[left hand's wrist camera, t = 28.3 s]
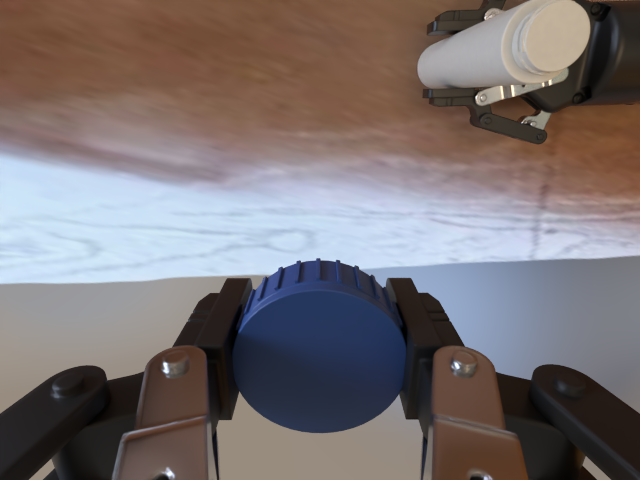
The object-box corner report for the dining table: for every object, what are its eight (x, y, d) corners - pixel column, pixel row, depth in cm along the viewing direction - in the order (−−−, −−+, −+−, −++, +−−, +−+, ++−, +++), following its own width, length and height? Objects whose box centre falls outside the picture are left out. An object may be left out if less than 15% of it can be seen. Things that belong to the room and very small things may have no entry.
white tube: (457, 37, 35) (602, -26, 17) (462, 82, 37) (601, 70, 19) (413, 49, 36) (511, 1, 17) (420, 94, 37) (517, 93, 19)
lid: (363, 230, 10) (371, 256, 8) (420, 360, 11) (436, 403, 10) (212, 294, 10) (192, 329, 9) (284, 408, 12) (279, 455, 10)
